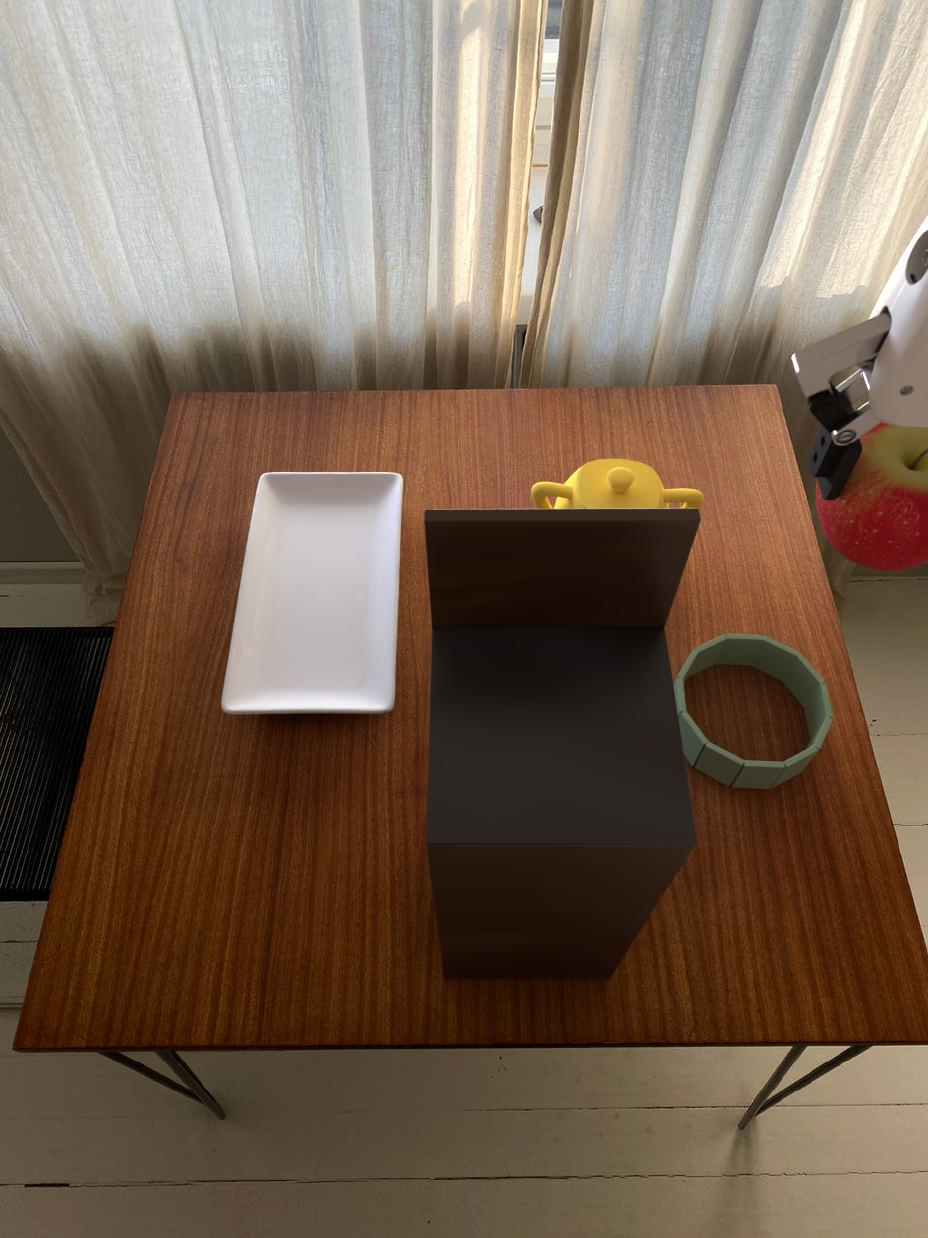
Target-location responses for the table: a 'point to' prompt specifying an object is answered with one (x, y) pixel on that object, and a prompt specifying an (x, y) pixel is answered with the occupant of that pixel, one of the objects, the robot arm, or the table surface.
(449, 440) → the table surface
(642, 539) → the stand
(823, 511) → the apple
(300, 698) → the tray
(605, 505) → the yellow two-handled pot
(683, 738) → the faceted green band
